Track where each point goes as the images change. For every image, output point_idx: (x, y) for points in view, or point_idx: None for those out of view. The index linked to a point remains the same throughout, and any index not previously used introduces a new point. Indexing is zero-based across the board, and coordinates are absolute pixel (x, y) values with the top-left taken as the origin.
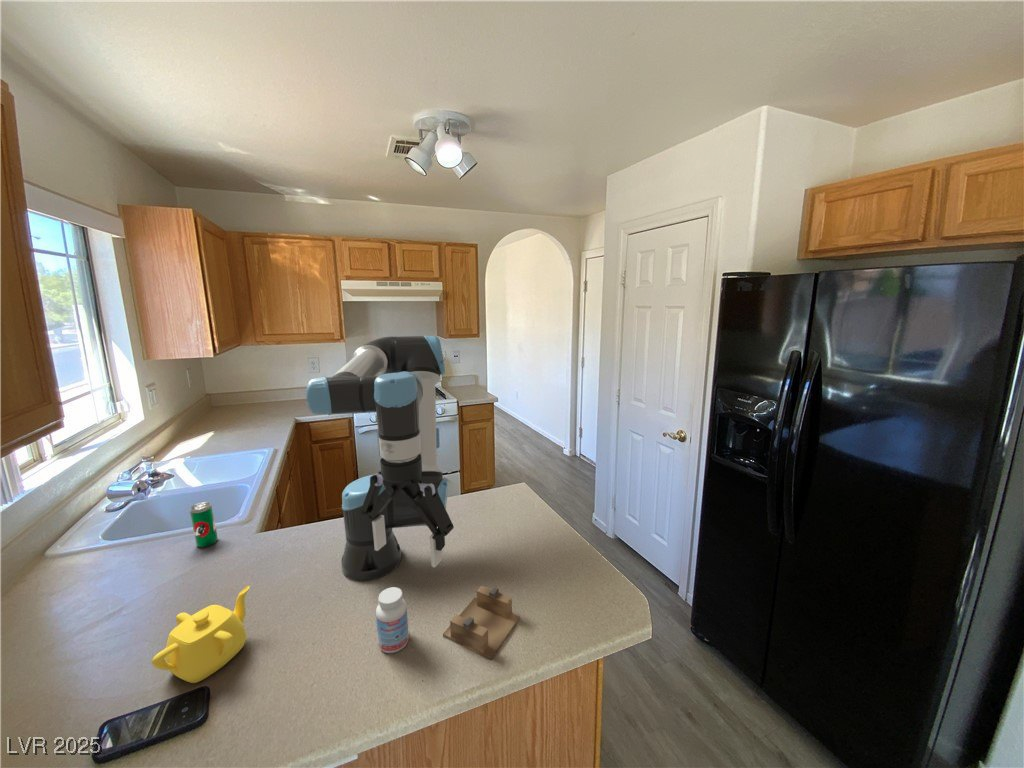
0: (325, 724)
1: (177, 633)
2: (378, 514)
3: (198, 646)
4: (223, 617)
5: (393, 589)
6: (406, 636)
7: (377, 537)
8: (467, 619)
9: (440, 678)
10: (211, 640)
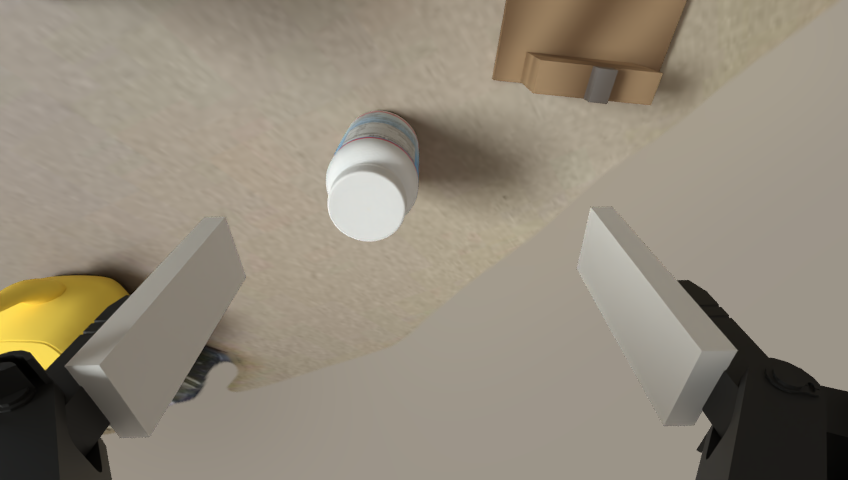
0: (395, 307)
1: None
2: (66, 408)
3: None
4: (48, 356)
5: (355, 184)
6: (418, 149)
7: (209, 324)
8: (598, 83)
9: (539, 180)
10: None
